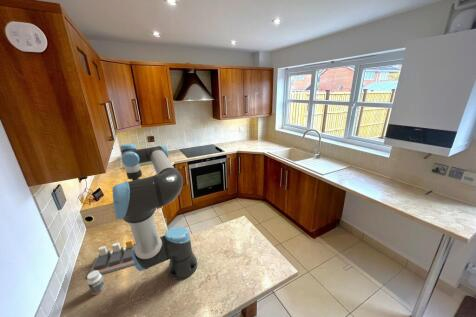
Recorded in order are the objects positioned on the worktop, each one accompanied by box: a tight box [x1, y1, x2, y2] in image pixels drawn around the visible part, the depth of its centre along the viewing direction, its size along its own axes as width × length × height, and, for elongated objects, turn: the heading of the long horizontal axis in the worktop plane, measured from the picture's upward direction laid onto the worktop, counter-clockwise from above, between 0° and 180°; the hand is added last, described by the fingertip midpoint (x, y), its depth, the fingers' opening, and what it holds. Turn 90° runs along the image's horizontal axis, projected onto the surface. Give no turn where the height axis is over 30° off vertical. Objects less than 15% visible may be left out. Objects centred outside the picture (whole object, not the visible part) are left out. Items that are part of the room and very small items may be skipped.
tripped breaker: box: [125, 238, 135, 249], centre depth 115 cm, size 2×3×4 cm
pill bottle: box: [86, 270, 106, 296], centre depth 92 cm, size 6×6×10 cm
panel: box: [88, 241, 136, 276], centre depth 111 cm, size 16×24×8 cm, turn 110°
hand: (142, 207), depth 115 cm, fingers closed
